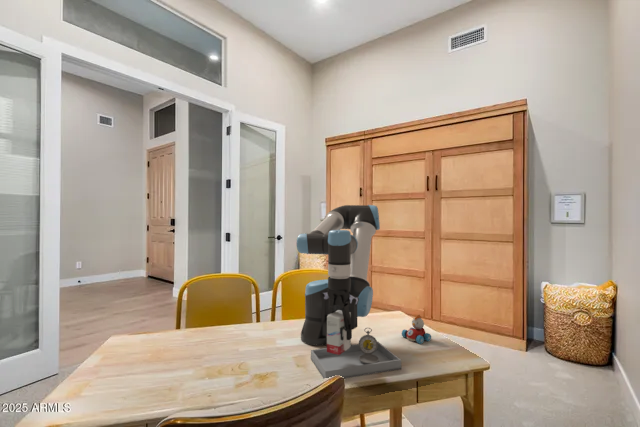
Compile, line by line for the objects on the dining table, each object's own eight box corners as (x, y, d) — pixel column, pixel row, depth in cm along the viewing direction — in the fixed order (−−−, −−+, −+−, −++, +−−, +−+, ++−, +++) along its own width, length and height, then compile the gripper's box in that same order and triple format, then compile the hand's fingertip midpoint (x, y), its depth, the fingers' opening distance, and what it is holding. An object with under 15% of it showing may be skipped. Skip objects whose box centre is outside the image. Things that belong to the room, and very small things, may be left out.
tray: (325, 381, 96) (325, 371, 97) (310, 358, 112) (310, 350, 112) (401, 369, 104) (401, 359, 104) (377, 349, 120) (377, 341, 120)
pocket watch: (367, 367, 104) (367, 336, 104) (352, 357, 111) (352, 328, 111) (386, 361, 108) (386, 332, 108) (370, 352, 115) (370, 324, 116)
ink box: (339, 355, 101) (339, 318, 101) (325, 352, 104) (326, 315, 104) (351, 346, 109) (351, 311, 109) (338, 343, 111) (338, 309, 111)
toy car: (400, 337, 132) (400, 313, 132) (414, 333, 137) (414, 310, 137) (418, 345, 124) (418, 319, 124) (432, 340, 129) (432, 315, 129)
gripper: (310, 275, 108) (310, 344, 108) (358, 281, 98) (358, 357, 98) (322, 272, 115) (322, 337, 114) (368, 277, 105) (368, 349, 105)
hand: (338, 346), depth 106 cm, fingers closed on ink box, 5 cm apart
